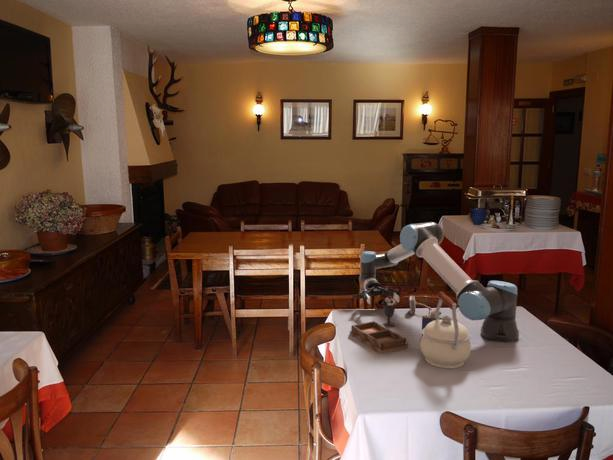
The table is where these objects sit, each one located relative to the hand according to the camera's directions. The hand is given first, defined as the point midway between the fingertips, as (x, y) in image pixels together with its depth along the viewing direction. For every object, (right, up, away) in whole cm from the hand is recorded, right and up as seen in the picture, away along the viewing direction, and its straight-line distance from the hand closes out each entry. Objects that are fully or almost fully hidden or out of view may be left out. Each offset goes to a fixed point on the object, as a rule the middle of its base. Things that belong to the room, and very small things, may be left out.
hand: (384, 300), depth 240 cm
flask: (+17, -13, -20) cm, 30 cm away
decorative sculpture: (+19, -8, +6) cm, 22 cm away
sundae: (+1, -10, -6) cm, 12 cm away
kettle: (+16, -17, -42) cm, 48 cm away
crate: (-6, -14, -24) cm, 29 cm away
